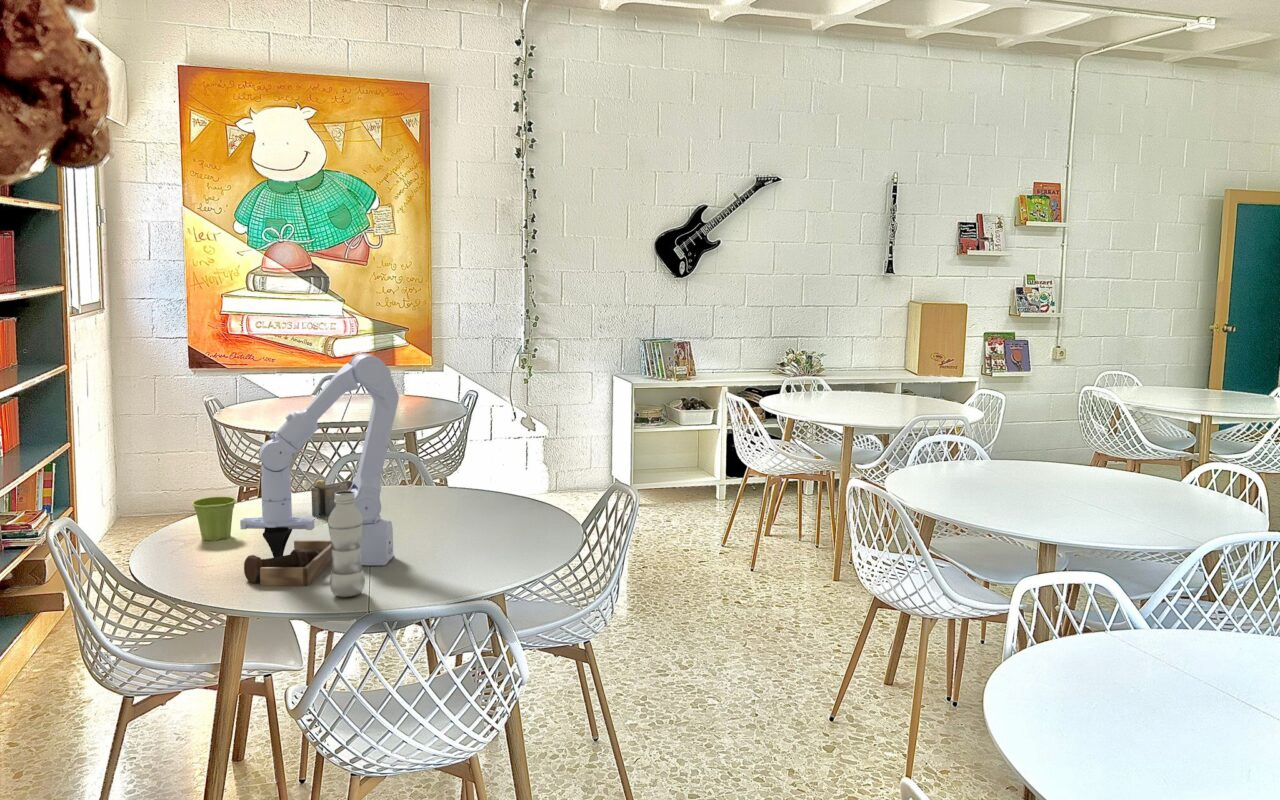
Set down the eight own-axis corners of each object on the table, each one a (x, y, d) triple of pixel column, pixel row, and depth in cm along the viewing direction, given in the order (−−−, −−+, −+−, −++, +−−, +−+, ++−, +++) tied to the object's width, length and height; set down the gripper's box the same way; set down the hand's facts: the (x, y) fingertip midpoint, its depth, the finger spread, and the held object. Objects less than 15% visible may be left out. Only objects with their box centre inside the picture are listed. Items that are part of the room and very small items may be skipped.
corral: (338, 556, 217) (337, 540, 217) (307, 585, 197) (306, 568, 196) (295, 556, 217) (295, 540, 217) (260, 585, 197) (259, 568, 196)
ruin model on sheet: (319, 519, 251) (318, 481, 250) (312, 517, 253) (310, 479, 251) (357, 511, 260) (356, 474, 259) (349, 509, 262) (348, 472, 260)
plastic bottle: (369, 590, 194) (367, 489, 192) (358, 601, 188) (355, 496, 185) (337, 589, 195) (333, 488, 192) (324, 600, 188) (321, 496, 185)
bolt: (320, 575, 209) (251, 589, 198) (309, 559, 212) (241, 572, 201) (327, 554, 207) (258, 567, 196) (316, 538, 209) (247, 550, 198)
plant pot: (228, 543, 227) (226, 505, 226) (186, 543, 227) (184, 505, 226) (244, 532, 236) (242, 496, 235) (204, 532, 236) (202, 496, 235)
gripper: (233, 502, 201) (235, 568, 203) (305, 503, 201) (307, 569, 203) (246, 494, 208) (249, 558, 210) (316, 495, 208) (318, 559, 210)
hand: (278, 563), depth 207 cm, fingers closed
